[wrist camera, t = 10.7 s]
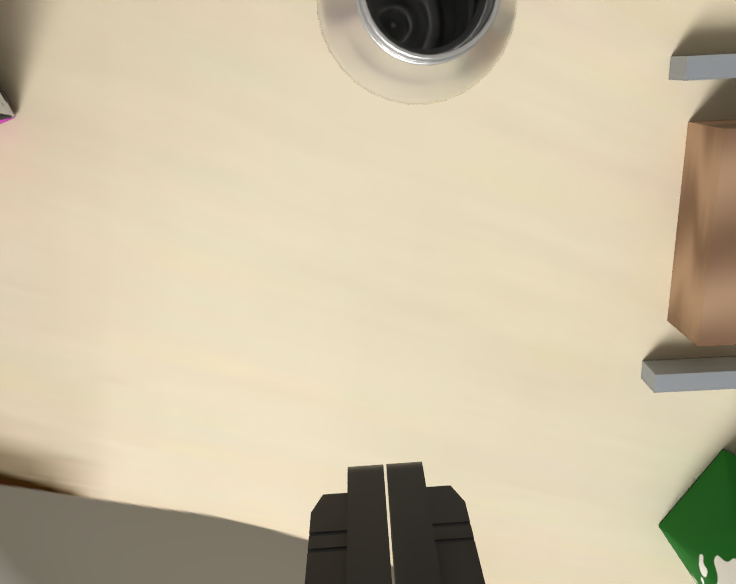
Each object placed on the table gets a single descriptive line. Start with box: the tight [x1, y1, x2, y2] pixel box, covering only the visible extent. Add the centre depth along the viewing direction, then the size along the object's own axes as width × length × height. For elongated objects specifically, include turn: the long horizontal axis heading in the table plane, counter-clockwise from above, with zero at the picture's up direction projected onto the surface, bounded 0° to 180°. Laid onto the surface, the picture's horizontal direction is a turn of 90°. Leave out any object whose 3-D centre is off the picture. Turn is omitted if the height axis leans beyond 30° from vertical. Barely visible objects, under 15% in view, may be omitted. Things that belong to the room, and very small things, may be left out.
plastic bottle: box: [317, 0, 517, 104], centre depth 26 cm, size 6×7×20 cm
